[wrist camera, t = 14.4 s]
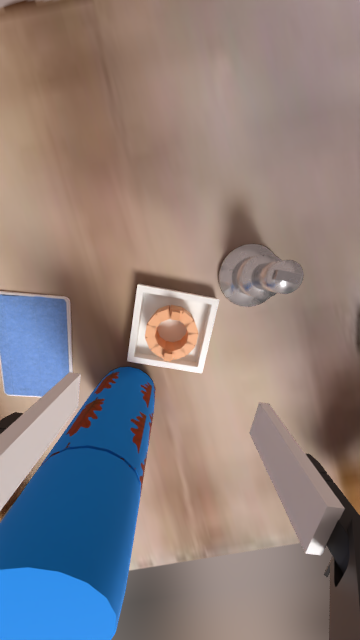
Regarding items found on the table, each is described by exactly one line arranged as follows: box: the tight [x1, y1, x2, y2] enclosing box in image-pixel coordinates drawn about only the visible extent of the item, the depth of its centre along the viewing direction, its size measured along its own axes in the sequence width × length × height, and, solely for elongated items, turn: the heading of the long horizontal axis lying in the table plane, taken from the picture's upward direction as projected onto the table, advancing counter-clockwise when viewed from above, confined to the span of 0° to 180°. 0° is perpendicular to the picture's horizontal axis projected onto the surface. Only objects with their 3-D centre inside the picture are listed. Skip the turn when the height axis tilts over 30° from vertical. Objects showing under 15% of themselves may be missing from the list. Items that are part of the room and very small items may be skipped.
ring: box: [145, 305, 198, 362], centre depth 31 cm, size 8×8×5 cm
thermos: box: [0, 367, 155, 640], centre depth 25 cm, size 11×11×25 cm
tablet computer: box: [0, 291, 73, 397], centre depth 34 cm, size 19×13×1 cm, turn 175°
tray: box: [127, 284, 219, 373], centre depth 33 cm, size 13×13×2 cm
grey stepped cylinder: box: [219, 244, 303, 307], centre depth 26 cm, size 10×10×12 cm
